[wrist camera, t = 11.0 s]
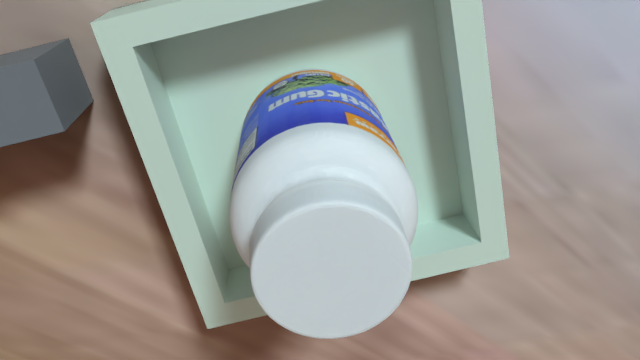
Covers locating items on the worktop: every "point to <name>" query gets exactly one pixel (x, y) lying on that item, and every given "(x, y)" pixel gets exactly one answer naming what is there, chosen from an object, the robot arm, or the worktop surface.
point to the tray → (291, 55)
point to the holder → (40, 92)
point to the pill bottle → (322, 206)
